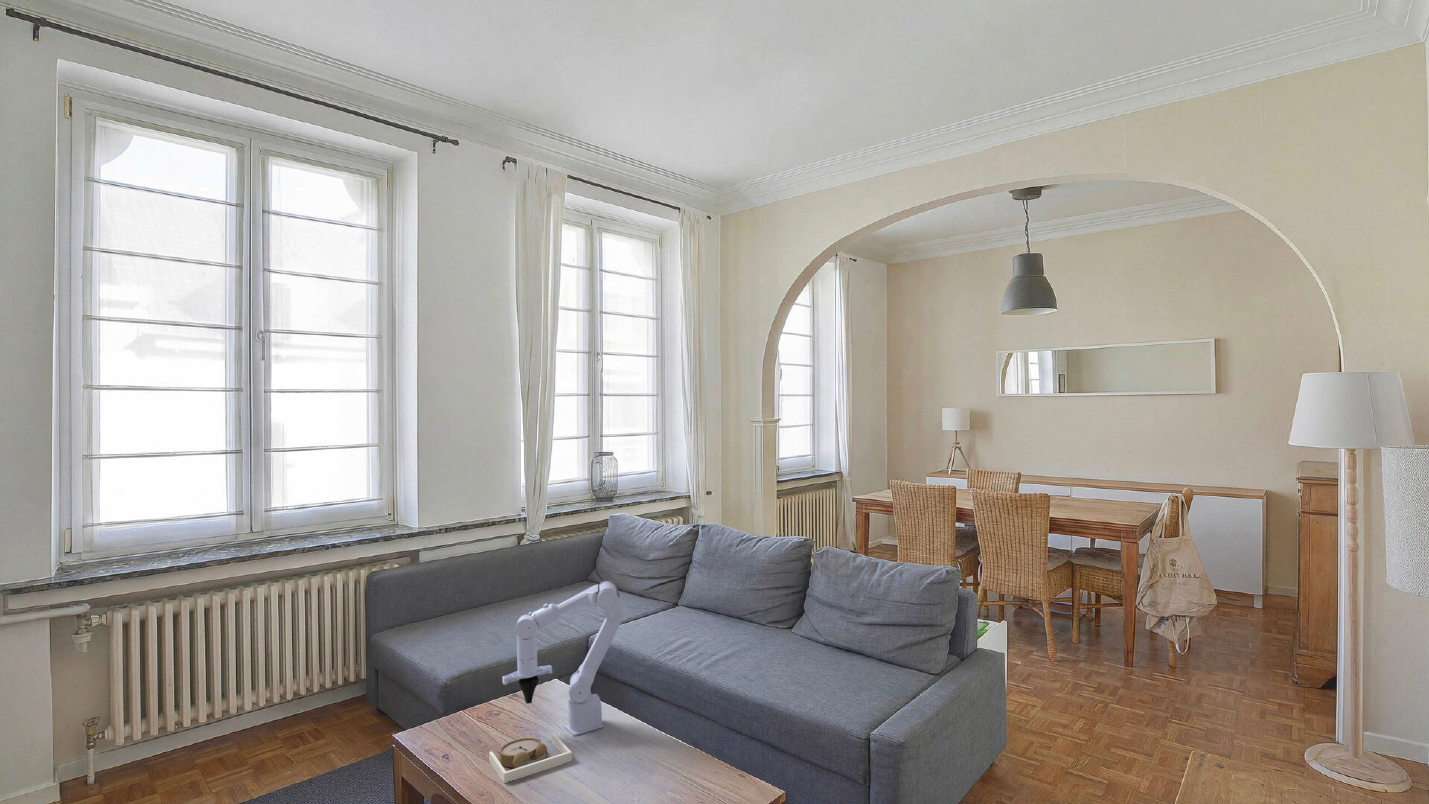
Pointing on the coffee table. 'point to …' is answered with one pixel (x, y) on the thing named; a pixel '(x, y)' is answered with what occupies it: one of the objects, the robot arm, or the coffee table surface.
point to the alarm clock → (522, 752)
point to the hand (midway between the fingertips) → (528, 702)
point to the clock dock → (535, 766)
